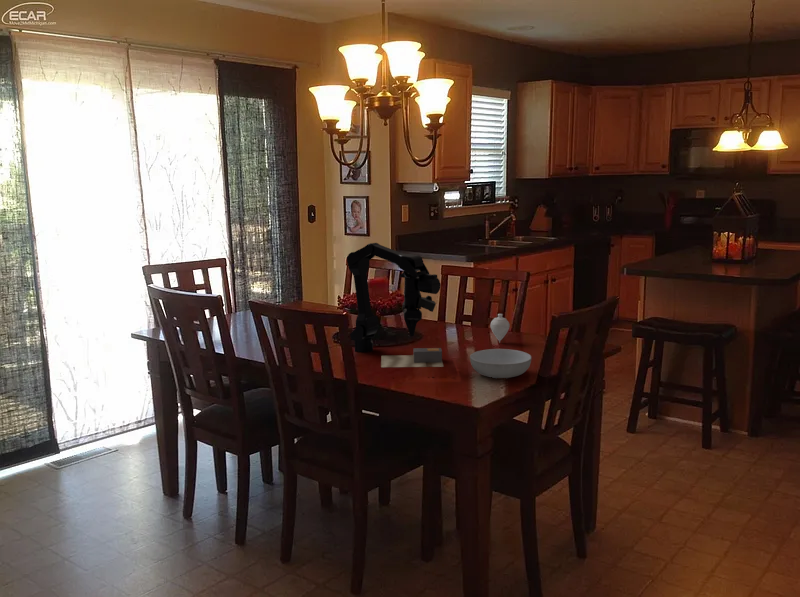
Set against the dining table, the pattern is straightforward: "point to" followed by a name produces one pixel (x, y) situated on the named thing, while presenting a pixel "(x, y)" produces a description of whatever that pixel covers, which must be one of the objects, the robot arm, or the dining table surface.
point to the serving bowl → (500, 362)
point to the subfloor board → (405, 362)
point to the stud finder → (427, 355)
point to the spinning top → (499, 327)
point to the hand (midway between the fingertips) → (411, 332)
